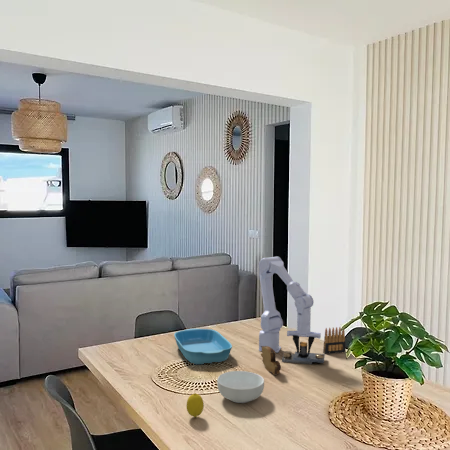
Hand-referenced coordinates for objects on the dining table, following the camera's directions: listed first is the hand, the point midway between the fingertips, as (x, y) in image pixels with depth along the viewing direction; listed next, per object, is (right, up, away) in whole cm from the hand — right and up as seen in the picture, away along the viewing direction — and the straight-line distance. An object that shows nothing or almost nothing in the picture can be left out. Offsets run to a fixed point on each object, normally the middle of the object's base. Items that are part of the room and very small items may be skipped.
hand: (303, 352), depth 199 cm
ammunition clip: (+16, -3, +11) cm, 20 cm away
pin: (0, -3, 0) cm, 3 cm away
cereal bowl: (-29, -5, -39) cm, 49 cm away
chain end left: (-2, -3, +1) cm, 4 cm away
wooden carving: (-16, -4, -12) cm, 20 cm away
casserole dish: (-45, -3, +9) cm, 46 cm away
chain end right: (+2, -3, -1) cm, 4 cm away
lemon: (-44, -6, -53) cm, 69 cm away
